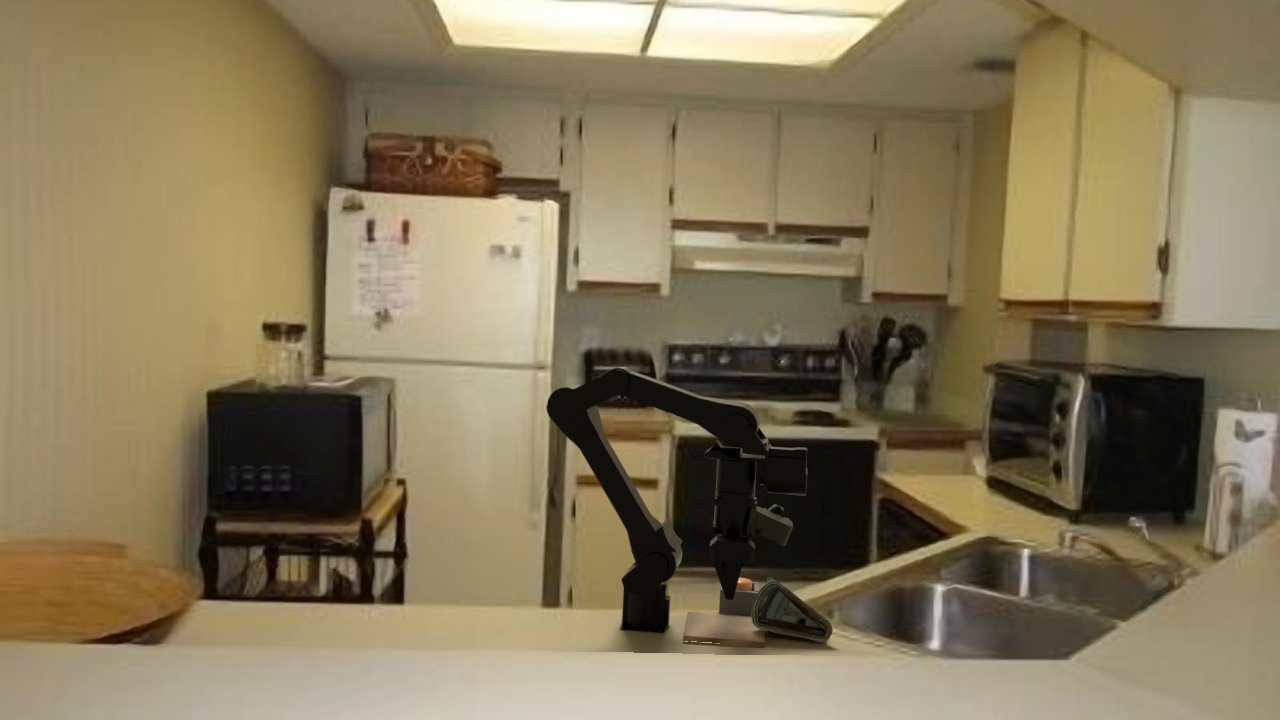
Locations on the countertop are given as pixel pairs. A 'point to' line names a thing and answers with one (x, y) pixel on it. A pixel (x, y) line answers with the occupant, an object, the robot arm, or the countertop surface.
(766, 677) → the countertop surface
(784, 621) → the chocolate cake
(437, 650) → the countertop surface
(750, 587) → the brown egg
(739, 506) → the robot arm
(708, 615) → the serving board
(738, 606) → the housing
